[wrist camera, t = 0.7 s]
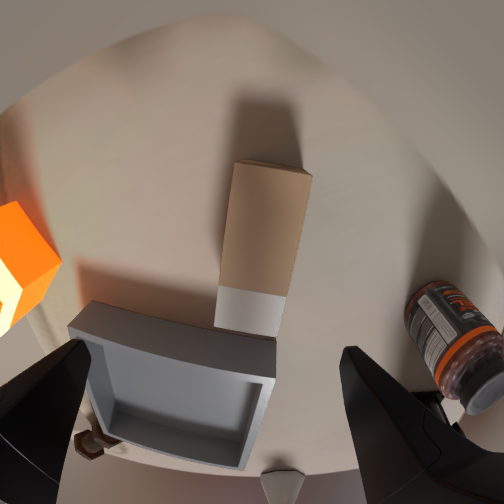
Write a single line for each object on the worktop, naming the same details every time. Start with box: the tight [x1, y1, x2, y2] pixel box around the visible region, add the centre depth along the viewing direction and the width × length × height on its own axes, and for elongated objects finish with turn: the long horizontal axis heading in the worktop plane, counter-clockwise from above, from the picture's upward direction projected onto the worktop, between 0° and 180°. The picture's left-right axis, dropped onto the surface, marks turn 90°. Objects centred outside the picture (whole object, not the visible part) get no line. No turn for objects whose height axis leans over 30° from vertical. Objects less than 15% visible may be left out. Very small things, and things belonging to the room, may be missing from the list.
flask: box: [261, 471, 305, 504], centre depth 29 cm, size 7×7×10 cm
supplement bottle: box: [405, 281, 504, 415], centre depth 16 cm, size 6×6×11 cm
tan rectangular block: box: [214, 159, 313, 337], centre depth 18 cm, size 4×10×5 cm, turn 171°
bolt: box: [74, 420, 123, 460], centre depth 31 cm, size 6×5×15 cm
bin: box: [67, 301, 277, 471], centre depth 25 cm, size 18×18×4 cm
